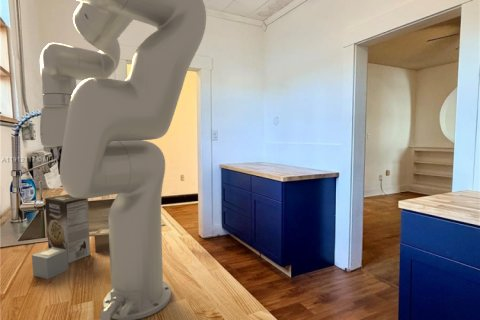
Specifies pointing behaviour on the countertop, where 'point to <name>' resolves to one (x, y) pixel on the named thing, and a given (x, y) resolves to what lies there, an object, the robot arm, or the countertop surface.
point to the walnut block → (102, 240)
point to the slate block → (50, 262)
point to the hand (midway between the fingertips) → (65, 173)
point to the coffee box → (68, 225)
